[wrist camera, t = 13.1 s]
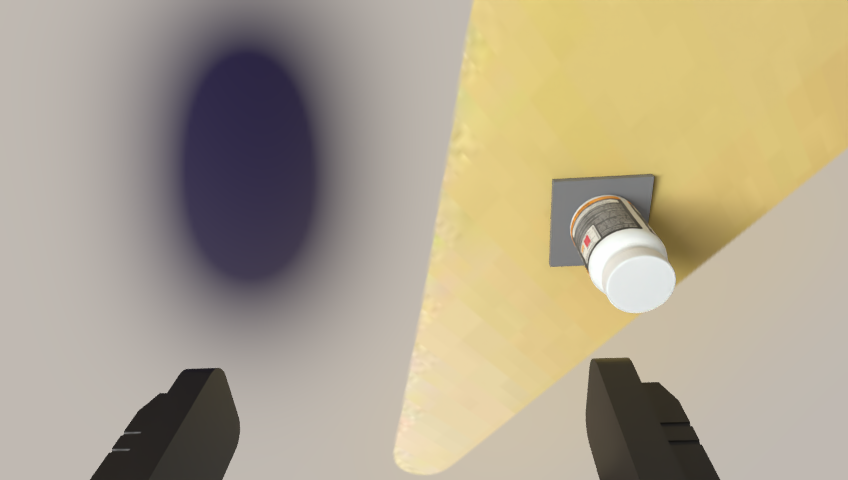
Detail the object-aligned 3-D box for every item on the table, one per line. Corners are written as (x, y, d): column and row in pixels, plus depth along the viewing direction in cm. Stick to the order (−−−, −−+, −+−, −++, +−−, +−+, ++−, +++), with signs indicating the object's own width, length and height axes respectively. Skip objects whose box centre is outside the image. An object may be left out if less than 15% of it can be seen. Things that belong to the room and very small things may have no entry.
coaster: (552, 179, 44) (553, 182, 44) (651, 174, 43) (654, 176, 43) (549, 263, 48) (550, 266, 47) (641, 259, 47) (643, 262, 47)
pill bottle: (559, 245, 46) (585, 312, 37) (582, 185, 44) (615, 241, 35) (622, 258, 46) (663, 327, 38) (648, 199, 44) (698, 258, 35)
